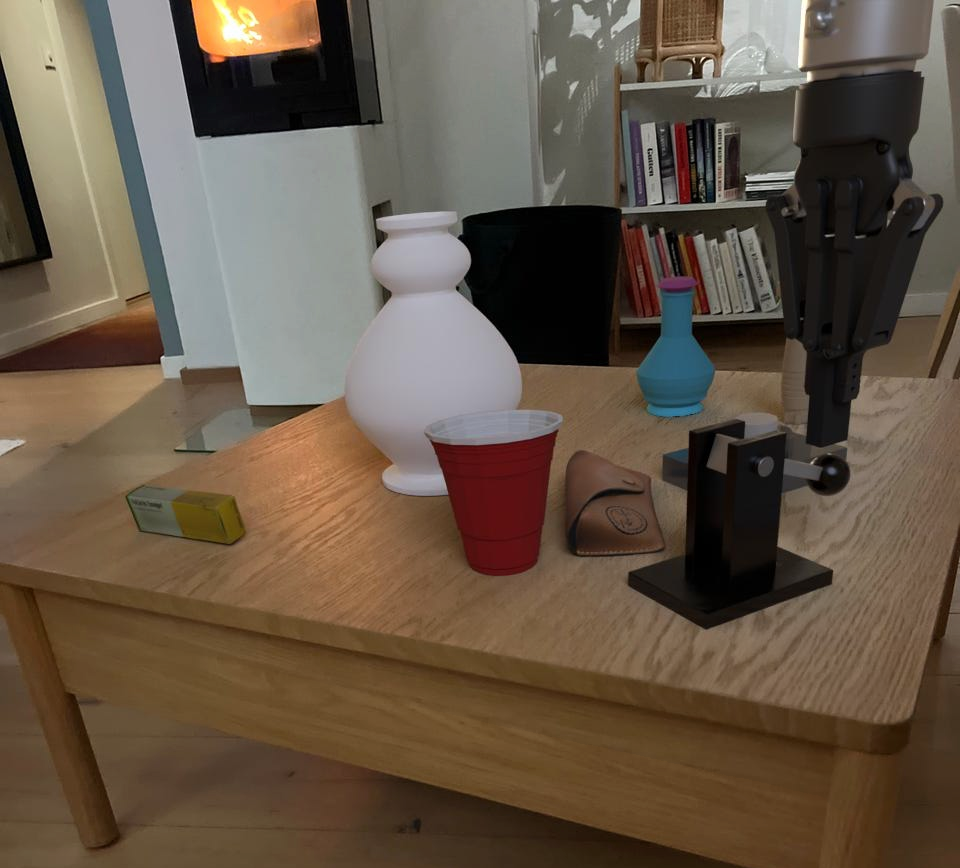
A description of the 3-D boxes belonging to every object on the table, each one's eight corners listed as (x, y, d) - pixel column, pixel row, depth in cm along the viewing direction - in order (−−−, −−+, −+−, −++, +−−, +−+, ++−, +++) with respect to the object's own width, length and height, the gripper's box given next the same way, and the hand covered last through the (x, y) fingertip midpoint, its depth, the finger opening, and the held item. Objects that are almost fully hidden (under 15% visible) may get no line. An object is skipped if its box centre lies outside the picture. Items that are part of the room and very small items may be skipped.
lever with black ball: (818, 492, 74) (832, 452, 73) (850, 503, 71) (865, 462, 70) (699, 470, 67) (713, 426, 66) (730, 482, 64) (744, 436, 63)
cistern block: (769, 451, 97) (772, 408, 95) (844, 475, 89) (850, 428, 87) (661, 480, 92) (662, 436, 90) (732, 509, 84) (734, 460, 82)
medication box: (136, 532, 90) (122, 495, 88) (156, 520, 92) (142, 483, 90) (229, 545, 85) (216, 505, 83) (248, 532, 87) (236, 492, 84)
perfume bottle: (649, 397, 119) (650, 273, 112) (721, 401, 115) (727, 271, 108) (626, 417, 112) (626, 285, 105) (702, 421, 108) (707, 284, 101)
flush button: (755, 427, 91) (757, 410, 90) (786, 436, 88) (787, 418, 87) (724, 436, 89) (725, 418, 89) (753, 445, 86) (754, 426, 85)
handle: (765, 416, 108) (775, 279, 101) (823, 415, 107) (838, 276, 100) (768, 428, 104) (778, 286, 97) (828, 427, 103) (844, 283, 96)
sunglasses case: (672, 547, 76) (630, 482, 74) (598, 590, 78) (555, 528, 76) (651, 475, 92) (616, 420, 89) (590, 513, 94) (554, 459, 92)
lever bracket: (747, 547, 76) (756, 403, 71) (832, 584, 69) (850, 427, 64) (627, 585, 72) (627, 435, 66) (706, 630, 65) (713, 465, 59)
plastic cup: (553, 529, 83) (547, 393, 77) (582, 578, 73) (578, 428, 68) (432, 544, 82) (417, 408, 76) (445, 596, 72) (429, 445, 67)
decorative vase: (486, 440, 108) (469, 203, 97) (555, 482, 94) (545, 209, 82) (338, 469, 103) (300, 222, 91) (387, 518, 88) (349, 231, 76)
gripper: (740, 85, 62) (727, 434, 73) (905, 65, 52) (860, 474, 63) (823, 78, 65) (798, 414, 76) (995, 57, 55) (936, 450, 66)
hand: (826, 441), depth 70 cm, fingers closed
